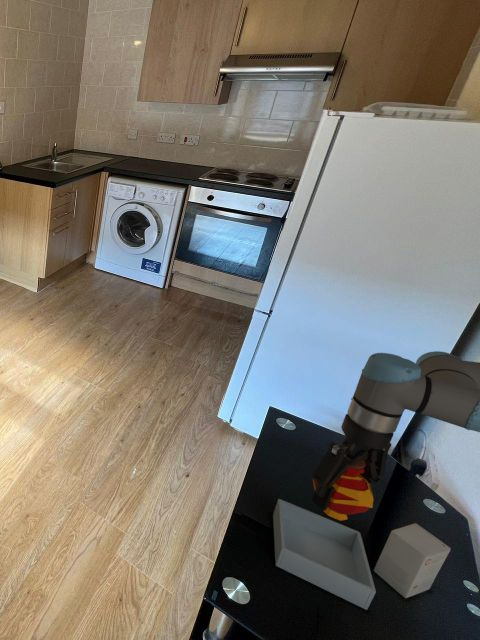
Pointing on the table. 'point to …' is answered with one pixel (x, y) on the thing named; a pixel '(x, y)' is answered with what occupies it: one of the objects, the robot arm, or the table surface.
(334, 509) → the potion bottle
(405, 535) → the small box
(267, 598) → the table surface
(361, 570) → the gray square tray
